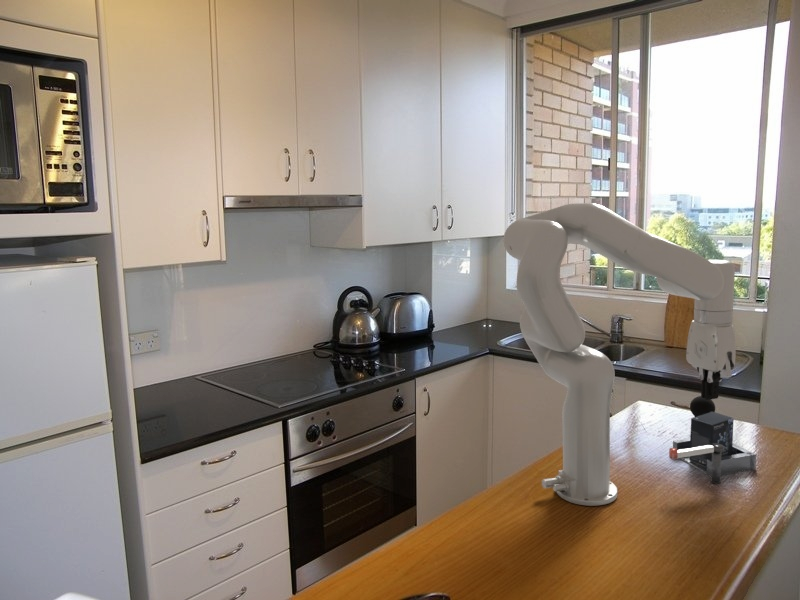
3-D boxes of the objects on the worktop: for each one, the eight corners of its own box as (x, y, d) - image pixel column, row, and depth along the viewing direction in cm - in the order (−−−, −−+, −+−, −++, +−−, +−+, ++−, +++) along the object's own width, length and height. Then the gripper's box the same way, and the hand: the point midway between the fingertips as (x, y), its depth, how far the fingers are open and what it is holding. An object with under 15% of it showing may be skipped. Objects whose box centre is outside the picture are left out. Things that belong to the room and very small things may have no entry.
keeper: (715, 484, 133) (716, 453, 132) (665, 455, 148) (666, 427, 147) (767, 475, 136) (769, 445, 135) (713, 447, 151) (714, 420, 150)
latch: (674, 460, 129) (674, 452, 129) (666, 455, 131) (666, 447, 131) (726, 451, 132) (726, 443, 131) (717, 447, 134) (717, 439, 134)
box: (711, 469, 139) (712, 424, 137) (688, 461, 144) (689, 417, 142) (733, 461, 143) (734, 417, 141) (710, 453, 148) (711, 410, 146)
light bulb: (718, 437, 157) (720, 399, 156) (695, 438, 158) (696, 400, 156) (707, 429, 163) (708, 392, 162) (685, 430, 163) (686, 393, 162)
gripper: (674, 312, 141) (672, 390, 144) (724, 324, 127) (720, 410, 130) (702, 310, 143) (699, 387, 146) (754, 321, 129) (750, 406, 132)
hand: (709, 397), depth 138 cm, fingers closed
